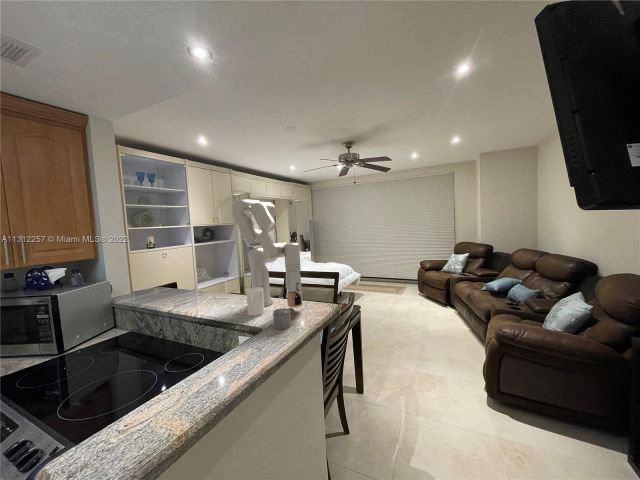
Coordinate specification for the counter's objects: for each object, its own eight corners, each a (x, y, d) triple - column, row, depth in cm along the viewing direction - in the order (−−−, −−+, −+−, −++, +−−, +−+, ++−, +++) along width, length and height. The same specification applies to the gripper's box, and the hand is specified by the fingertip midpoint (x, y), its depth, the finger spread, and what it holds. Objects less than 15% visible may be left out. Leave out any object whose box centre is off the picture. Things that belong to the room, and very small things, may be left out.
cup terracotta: (285, 304, 128) (285, 291, 128) (298, 301, 131) (298, 289, 131) (291, 308, 122) (290, 295, 121) (304, 305, 125) (304, 292, 125)
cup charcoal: (271, 324, 111) (271, 310, 110) (287, 321, 114) (286, 307, 114) (277, 330, 104) (276, 315, 104) (293, 326, 108) (292, 312, 107)
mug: (259, 318, 119) (257, 293, 118) (241, 318, 120) (240, 293, 119) (267, 309, 131) (266, 286, 130) (251, 309, 132) (250, 287, 131)
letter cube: (283, 317, 119) (283, 309, 119) (291, 315, 121) (291, 307, 121) (287, 320, 116) (286, 311, 115) (295, 318, 118) (294, 309, 117)
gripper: (280, 266, 131) (282, 300, 132) (292, 271, 116) (294, 309, 117) (293, 264, 135) (295, 297, 136) (307, 269, 119) (309, 305, 120)
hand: (295, 302), depth 126 cm, fingers closed on cup terracotta, 7 cm apart
